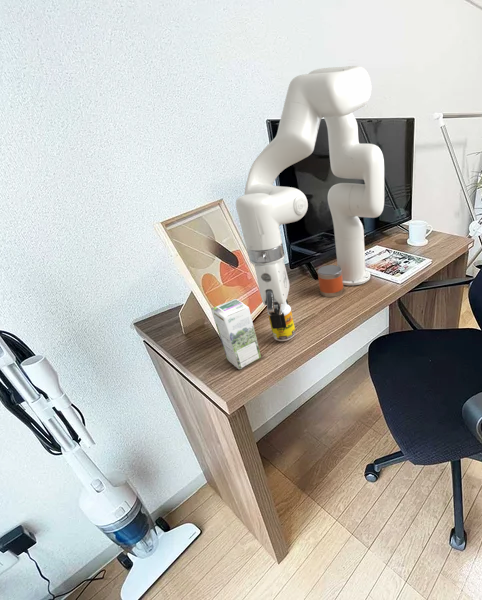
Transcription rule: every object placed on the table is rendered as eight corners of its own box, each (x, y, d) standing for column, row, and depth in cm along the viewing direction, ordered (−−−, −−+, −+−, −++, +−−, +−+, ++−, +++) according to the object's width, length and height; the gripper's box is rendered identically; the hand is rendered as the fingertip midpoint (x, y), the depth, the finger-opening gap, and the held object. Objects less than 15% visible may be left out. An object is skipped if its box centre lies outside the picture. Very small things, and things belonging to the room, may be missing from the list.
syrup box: (249, 348, 80) (234, 297, 73) (262, 358, 77) (248, 305, 69) (227, 360, 76) (209, 307, 69) (239, 371, 73) (222, 316, 66)
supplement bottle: (277, 345, 80) (269, 310, 75) (270, 334, 84) (262, 300, 79) (299, 337, 83) (292, 302, 78) (291, 326, 87) (284, 293, 82)
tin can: (320, 287, 108) (317, 265, 104) (343, 285, 109) (341, 264, 105) (319, 298, 102) (316, 275, 98) (343, 296, 102) (341, 273, 98)
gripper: (277, 267, 65) (293, 339, 74) (288, 238, 80) (300, 301, 89) (238, 270, 64) (259, 342, 73) (256, 240, 79) (271, 303, 88)
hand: (281, 319), depth 81 cm, fingers closed on supplement bottle, 5 cm apart
